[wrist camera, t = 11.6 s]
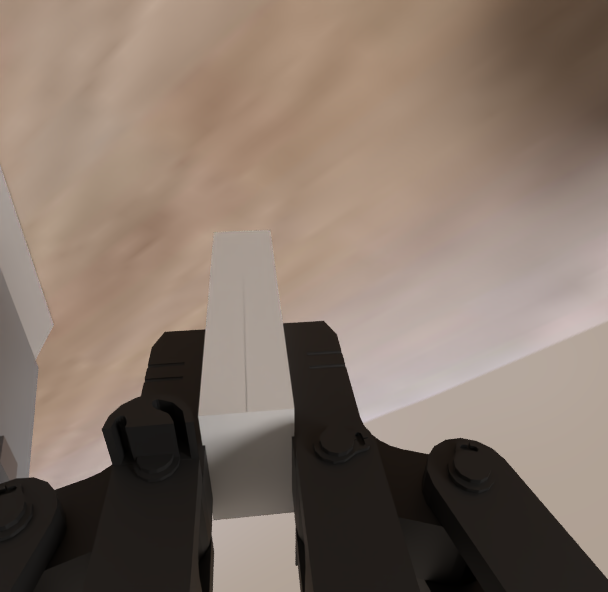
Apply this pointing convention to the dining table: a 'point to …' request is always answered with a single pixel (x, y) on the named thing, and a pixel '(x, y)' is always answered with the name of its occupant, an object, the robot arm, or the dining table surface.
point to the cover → (15, 391)
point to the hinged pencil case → (22, 274)
